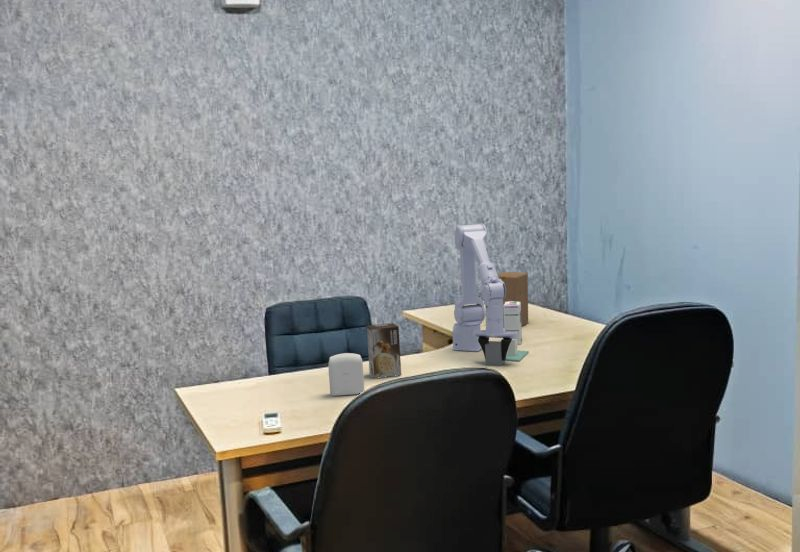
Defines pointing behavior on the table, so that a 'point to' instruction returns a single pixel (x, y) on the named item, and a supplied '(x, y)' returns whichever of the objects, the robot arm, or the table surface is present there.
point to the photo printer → (346, 374)
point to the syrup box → (513, 318)
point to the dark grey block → (493, 353)
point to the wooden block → (516, 291)
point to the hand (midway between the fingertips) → (495, 359)
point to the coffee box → (384, 350)
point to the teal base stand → (515, 352)
